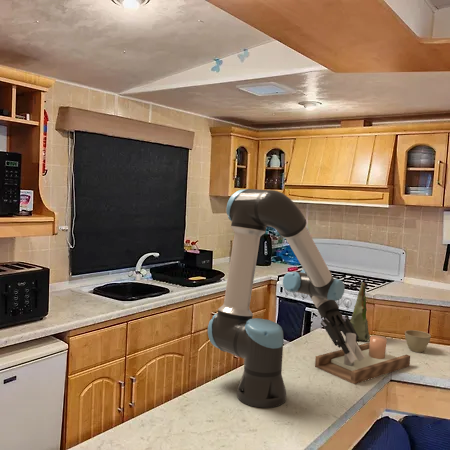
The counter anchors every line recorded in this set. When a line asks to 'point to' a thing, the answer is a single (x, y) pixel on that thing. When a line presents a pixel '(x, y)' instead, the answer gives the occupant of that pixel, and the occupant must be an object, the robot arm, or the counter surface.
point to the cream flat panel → (365, 362)
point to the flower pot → (417, 340)
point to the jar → (377, 347)
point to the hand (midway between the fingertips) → (358, 360)
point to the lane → (362, 373)
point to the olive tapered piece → (360, 315)
